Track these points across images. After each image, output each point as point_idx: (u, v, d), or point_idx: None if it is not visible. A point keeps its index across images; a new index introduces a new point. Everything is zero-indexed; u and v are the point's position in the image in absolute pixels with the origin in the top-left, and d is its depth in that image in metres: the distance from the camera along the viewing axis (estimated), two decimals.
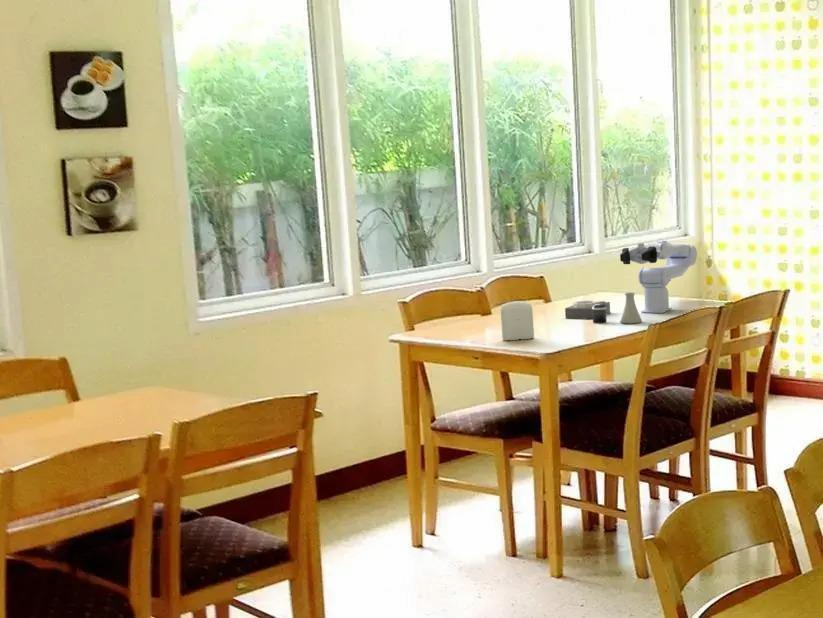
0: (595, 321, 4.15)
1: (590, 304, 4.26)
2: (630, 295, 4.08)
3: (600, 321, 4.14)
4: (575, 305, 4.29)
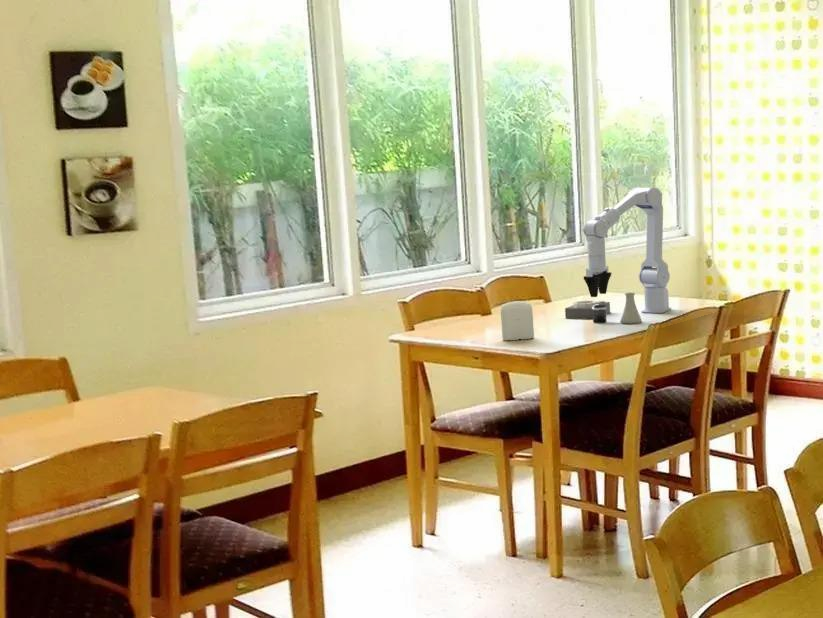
0: (595, 321, 4.15)
1: (590, 304, 4.26)
2: (630, 295, 4.08)
3: (600, 321, 4.14)
4: (575, 305, 4.29)
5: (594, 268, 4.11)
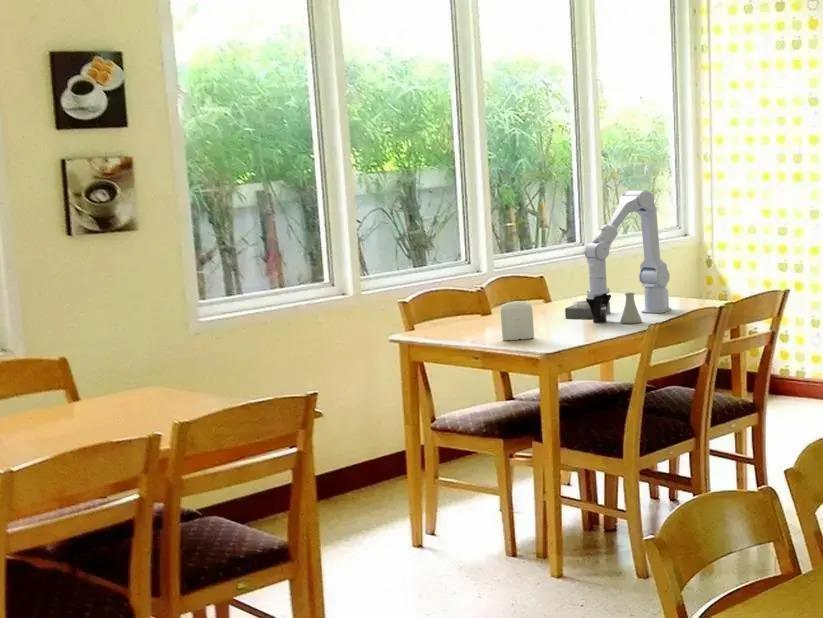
0: (595, 321, 4.15)
1: None
2: (630, 295, 4.08)
3: (600, 321, 4.14)
4: (575, 305, 4.29)
5: (595, 290, 4.12)
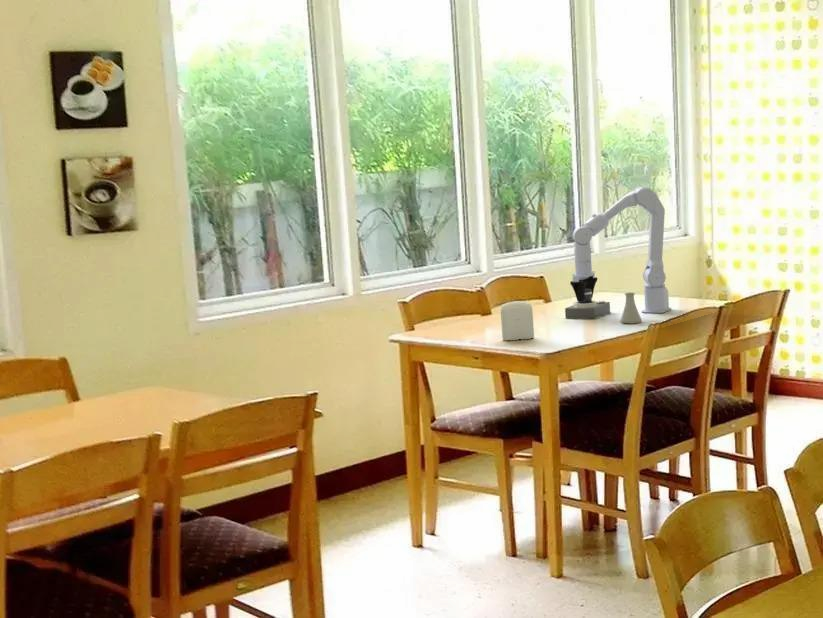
0: None
1: (590, 304, 4.26)
2: (630, 295, 4.08)
3: None
4: (575, 305, 4.29)
5: (580, 273, 4.26)
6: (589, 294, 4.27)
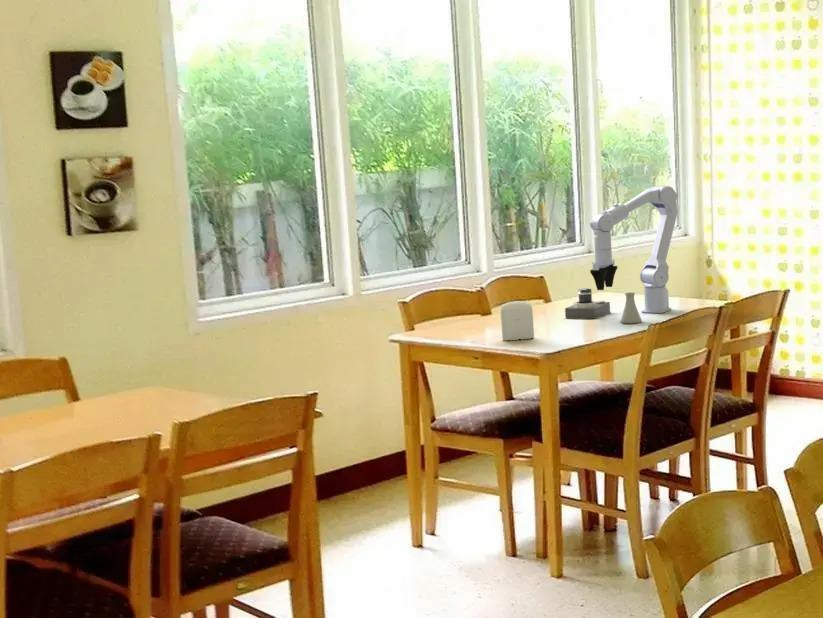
0: None
1: (590, 304, 4.26)
2: (630, 295, 4.08)
3: None
4: (575, 305, 4.29)
5: (600, 262, 4.18)
6: (589, 294, 4.27)
